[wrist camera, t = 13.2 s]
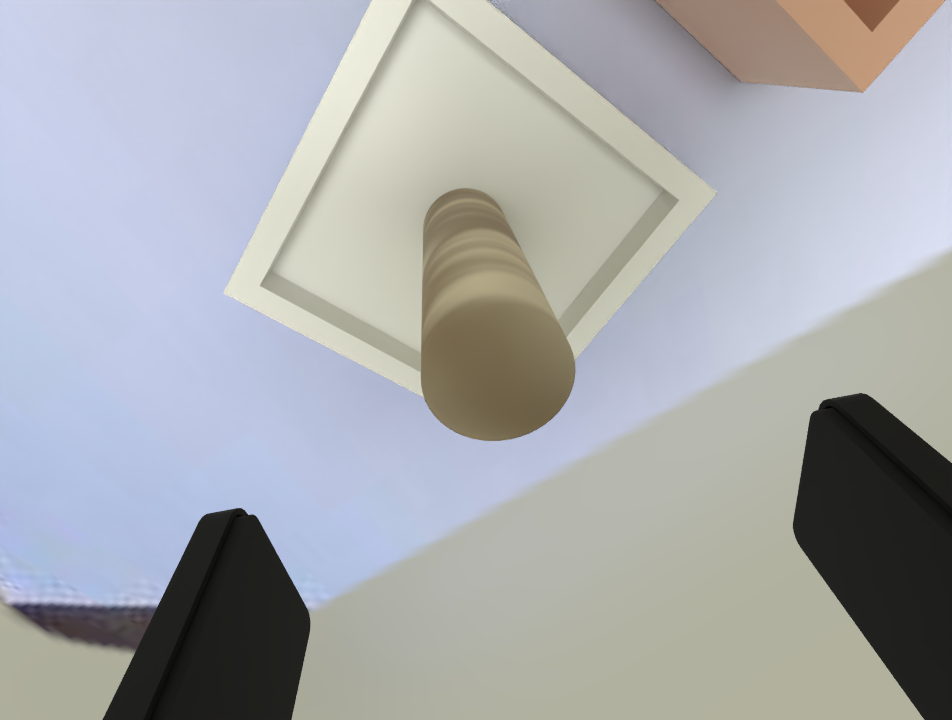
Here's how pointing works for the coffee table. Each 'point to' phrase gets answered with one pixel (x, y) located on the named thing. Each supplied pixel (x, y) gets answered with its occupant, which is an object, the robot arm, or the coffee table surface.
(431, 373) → the birch dowel
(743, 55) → the terracotta cup
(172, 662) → the robot arm
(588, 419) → the coffee table surface
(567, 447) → the coffee table surface
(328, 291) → the cream tray
